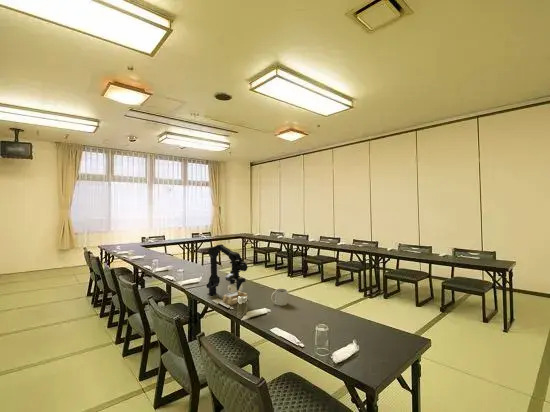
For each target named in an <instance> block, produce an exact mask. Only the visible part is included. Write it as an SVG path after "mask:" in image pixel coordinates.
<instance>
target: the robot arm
mask: <svg viewBox="0 0 550 412" xmlns="http://www.w3.org/2000/svg"><path fill="white" fill-rule="evenodd" d="M207 251H208V253H207V254H208V256H209V258H210V276H209V278H208V282H207V284H206V288H207V289H208V293H207V295H208V296H211V297H213V296H217V295H218V293H217V287H219V285H220V282H221V281H220V276H219V275H218V256H219V254H220V252H221V253H223V254H224V255H226V256H227V257H228V259H229V260H230V262H229V264H231V270H230V271H229V273H228V274H226V275H225V276H224V278H225V281H227V282H229V283H230V284H229V285H231V284H235V283H236V284H237V291H236V292H238V290H239V288H240V286H241V284H242V285H243V283H246V277H243V276H242V277H241V275H240V272H246V271H247V270H248V264H247V262H246V261H243V258H242V257H241V254H240V253H239V252H237V251H232V250H231V249H230V248H228V247H227V246H225V245H224V244H217V245H215V246H212V247H210V246H209V248H208V250H207ZM239 291H240V290H239Z"/></svg>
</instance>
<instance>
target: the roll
mask: <svg viewBox="0 0 550 412" xmlns="http://www.w3.org/2000/svg"><path fill="white" fill-rule="evenodd" d="M243 289H244V287H243V283H242V284H241V286H240V288H239V290H238V291H242V290H243ZM227 291H228V293H232V292H238V291H237V284H236V283H235V284H228V285H227Z"/></svg>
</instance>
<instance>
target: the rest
mask: <svg viewBox="0 0 550 412" xmlns="http://www.w3.org/2000/svg"><path fill="white" fill-rule="evenodd" d="M224 295H226V296H228V297H230V296H234V295H238V291H236V292H232V293H230V292H228V293H226V294H224Z"/></svg>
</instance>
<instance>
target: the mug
mask: <svg viewBox="0 0 550 412" xmlns="http://www.w3.org/2000/svg"><path fill="white" fill-rule="evenodd" d="M274 295H275V298H274V299H275V300H274V299H273V296H274ZM270 298H271V301H272V302H273V303H275V305H277V306H280V307H282V306H286V305H288V289H285V288H277V289H275V291H274V292H272V294H271V297H270Z"/></svg>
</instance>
